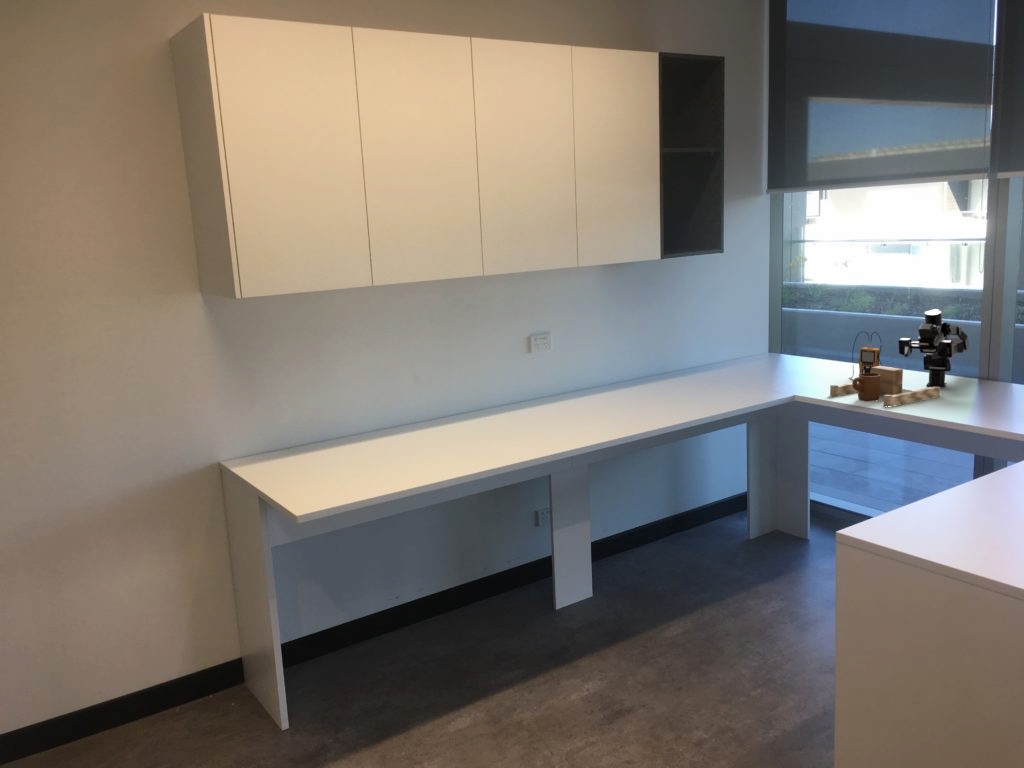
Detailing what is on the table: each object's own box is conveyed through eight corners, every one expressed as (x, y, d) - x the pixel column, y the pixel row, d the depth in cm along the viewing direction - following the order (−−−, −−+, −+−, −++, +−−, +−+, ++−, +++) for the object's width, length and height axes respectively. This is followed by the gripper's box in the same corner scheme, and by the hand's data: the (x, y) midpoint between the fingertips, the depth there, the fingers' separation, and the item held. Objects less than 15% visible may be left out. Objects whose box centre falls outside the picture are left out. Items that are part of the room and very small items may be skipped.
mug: (860, 404, 302) (861, 378, 300) (844, 400, 309) (845, 375, 307) (884, 399, 307) (885, 374, 305) (868, 396, 314) (868, 372, 312)
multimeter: (841, 380, 345) (842, 333, 341) (854, 376, 351) (855, 330, 347) (874, 384, 333) (875, 335, 330) (887, 381, 339) (889, 332, 335)
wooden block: (879, 391, 318) (880, 365, 317) (901, 395, 310) (902, 369, 308) (870, 393, 316) (871, 367, 314) (892, 397, 307) (893, 370, 306)
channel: (880, 386, 330) (880, 376, 329) (939, 396, 307) (940, 385, 307) (830, 395, 318) (830, 385, 317) (887, 407, 295) (888, 396, 294)
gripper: (904, 319, 319) (890, 335, 310) (957, 321, 307) (944, 338, 297) (906, 345, 324) (892, 362, 314) (958, 348, 311) (946, 366, 301)
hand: (918, 356), depth 306 cm, fingers open, 9 cm apart
